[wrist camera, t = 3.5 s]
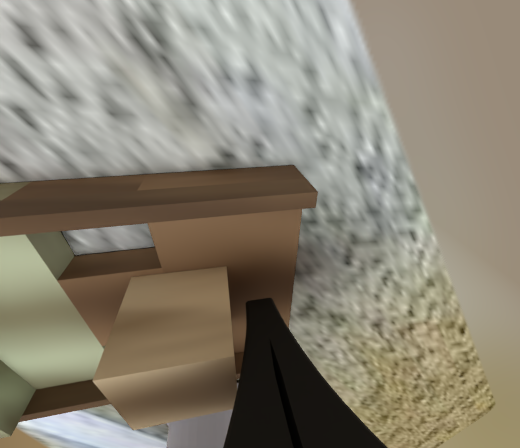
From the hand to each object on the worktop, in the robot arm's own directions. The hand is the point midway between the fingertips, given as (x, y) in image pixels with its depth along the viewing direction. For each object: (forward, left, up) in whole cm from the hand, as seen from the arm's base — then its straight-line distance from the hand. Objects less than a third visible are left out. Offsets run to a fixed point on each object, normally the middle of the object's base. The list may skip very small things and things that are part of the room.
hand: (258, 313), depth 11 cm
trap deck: (0, +6, -3) cm, 6 cm away
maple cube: (0, +3, -1) cm, 4 cm away
